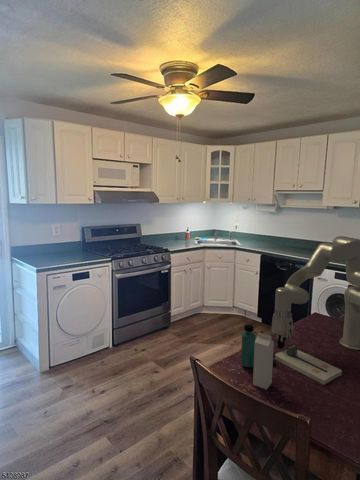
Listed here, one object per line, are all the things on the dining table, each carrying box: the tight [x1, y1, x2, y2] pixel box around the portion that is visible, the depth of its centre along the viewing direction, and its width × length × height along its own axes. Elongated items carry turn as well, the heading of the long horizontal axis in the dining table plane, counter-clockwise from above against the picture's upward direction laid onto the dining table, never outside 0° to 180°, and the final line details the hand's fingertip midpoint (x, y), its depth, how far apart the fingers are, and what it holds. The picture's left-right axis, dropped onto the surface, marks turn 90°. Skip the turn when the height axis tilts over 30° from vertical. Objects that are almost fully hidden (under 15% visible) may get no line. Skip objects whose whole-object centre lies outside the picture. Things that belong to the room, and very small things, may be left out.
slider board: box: [273, 349, 343, 386], centre depth 146 cm, size 14×26×2 cm, turn 35°
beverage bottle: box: [240, 323, 257, 368], centre depth 144 cm, size 6×7×20 cm
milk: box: [252, 332, 275, 391], centre depth 130 cm, size 6×6×22 cm
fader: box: [286, 344, 298, 356], centre depth 152 cm, size 4×3×4 cm
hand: (280, 347), depth 157 cm, fingers closed
